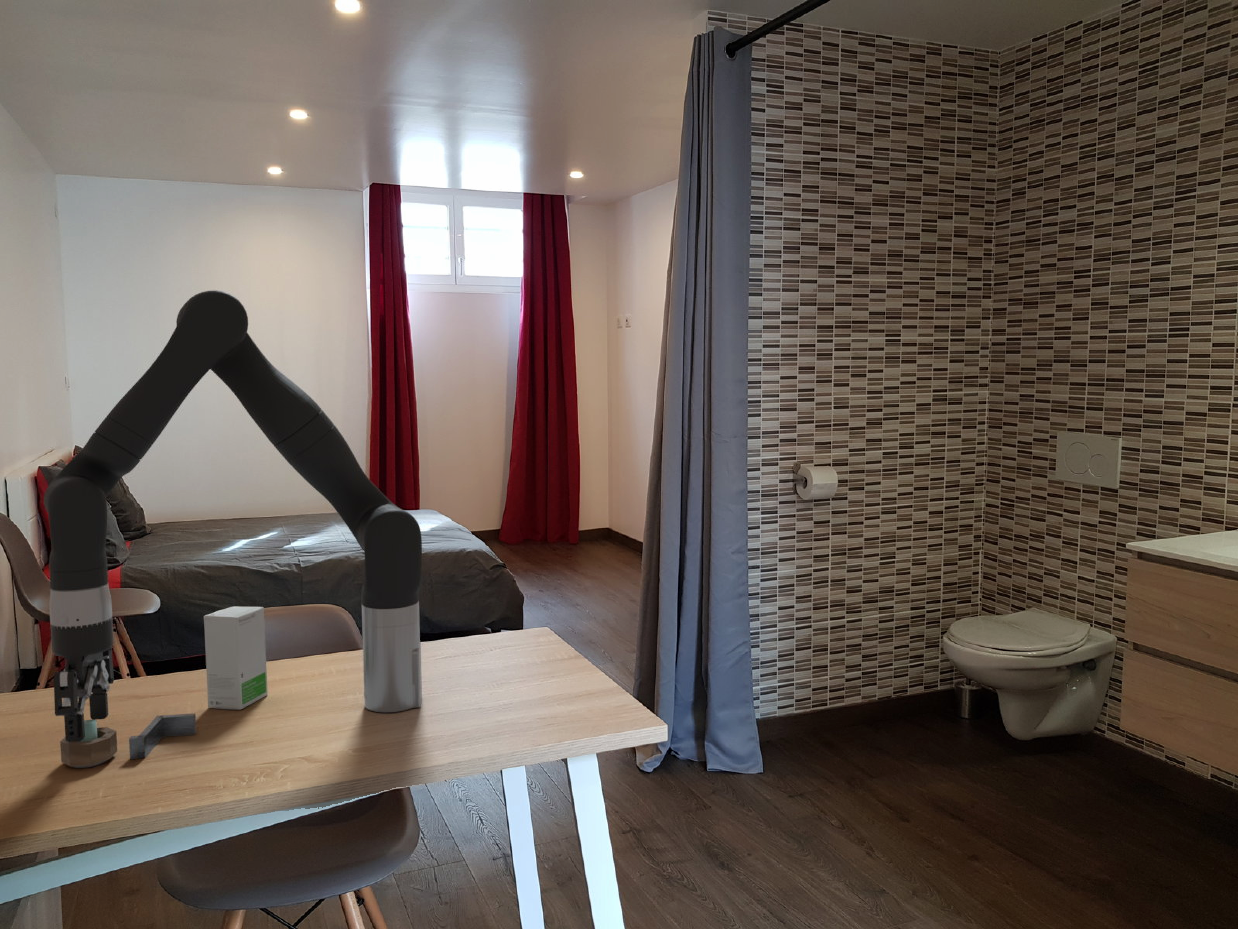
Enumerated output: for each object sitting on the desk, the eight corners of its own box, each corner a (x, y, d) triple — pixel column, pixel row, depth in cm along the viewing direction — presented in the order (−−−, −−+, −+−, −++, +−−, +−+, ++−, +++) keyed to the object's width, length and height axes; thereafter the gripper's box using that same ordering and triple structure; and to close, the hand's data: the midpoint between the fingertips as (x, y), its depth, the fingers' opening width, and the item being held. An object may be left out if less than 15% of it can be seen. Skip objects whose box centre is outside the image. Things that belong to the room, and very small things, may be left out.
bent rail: (196, 732, 140) (195, 713, 140) (178, 755, 131) (177, 735, 131) (150, 735, 139) (150, 716, 139) (130, 759, 130) (128, 738, 130)
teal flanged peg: (115, 752, 133) (113, 715, 132) (101, 766, 128) (99, 727, 127) (77, 754, 132) (75, 717, 131) (63, 769, 127) (60, 730, 126)
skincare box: (240, 711, 149) (236, 618, 148) (204, 708, 151) (200, 616, 149) (269, 694, 157) (266, 605, 156) (235, 691, 159) (231, 604, 157)
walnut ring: (122, 746, 134) (120, 726, 133) (105, 764, 127) (104, 743, 127) (74, 749, 132) (73, 729, 132) (55, 767, 126) (54, 746, 126)
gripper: (90, 629, 122) (97, 747, 123) (128, 604, 136) (134, 710, 137) (28, 632, 120) (36, 751, 122) (73, 606, 134) (79, 713, 136)
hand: (87, 729), depth 129 cm, fingers open, 8 cm apart
